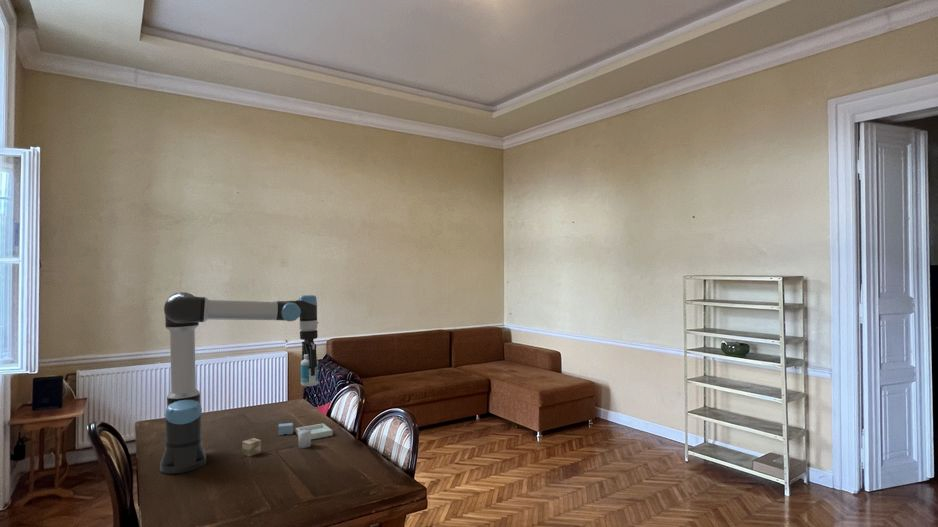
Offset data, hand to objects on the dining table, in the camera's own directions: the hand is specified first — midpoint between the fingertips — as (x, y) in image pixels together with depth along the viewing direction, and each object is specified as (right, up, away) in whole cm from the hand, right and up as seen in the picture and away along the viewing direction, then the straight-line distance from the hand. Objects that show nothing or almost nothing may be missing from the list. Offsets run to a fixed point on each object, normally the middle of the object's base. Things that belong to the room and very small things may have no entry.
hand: (309, 381), depth 226 cm
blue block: (-12, -24, +3) cm, 27 cm away
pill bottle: (0, -2, 0) cm, 2 cm away
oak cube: (-17, -24, -22) cm, 36 cm away
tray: (+1, -24, +1) cm, 24 cm away
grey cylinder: (+2, -24, -14) cm, 28 cm away
